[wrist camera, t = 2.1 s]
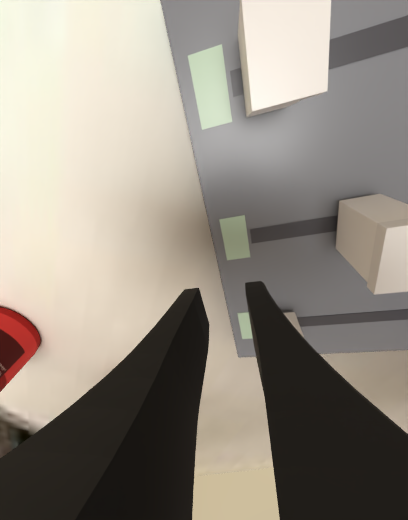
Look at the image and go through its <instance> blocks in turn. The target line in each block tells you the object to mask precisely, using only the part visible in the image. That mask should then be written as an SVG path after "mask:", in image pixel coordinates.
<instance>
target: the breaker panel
mask: <svg viewBox="0 0 408 520" xmlns="http://www.w3.org/2000/svg"><path fill="white" fill-rule="evenodd" d="M160 1H161V5H162V10H163V15H164V19H165V24H166V28H167V33H168V37H169V42H170V47H171V51H172V56H173V60H174V65H175V70H176V74H177V79H178V83H179V88H180V92H181V97H182V102H183V106H184V111H185V115H186V120H187V125H188V129H189V134H190V138H191V143H192V147H193V152H194V157H195V161H196V166H197V170H198V175H199V179H200V184H201V189H202V193H203V198H204V202H205V207H206V212H207V216H208V221H209V225H210V230H211V234H212V239H213V244H214V248H215V253H216V257H217V262H218V267H219V271H220V276H221V280H222V285H223V289H224V294H225V299H226V303H227V308H228V312H229V317H230V322H231V326H232V331H233V335H234V340H235V344H236V349H237V354H238V357H256V353H255V348H254V343H253V337H252V331H251V324H250V318H249V312H248V306H247V299H246V292H245V283H247V282H256V281H262V282H263V283H264V284H265V286H266V288H267V290H268V292H269V293H270V295H271V297H272V298H273V300H274V301H275V302H276V304H277V305H278V307H279V308H280V309H281V311H282V312H283V313H287V312H295V314H296V317H297V320H298V322H299V325H300V328H301V331H302V333H303V336H304V339H305V340H306V341H307V342H308V343H309V344H310V345H311V346H312V347H313V348H314V349H315V351H316V352H317V353H318V354H329V353H351V352H374V351H397V350H408V292H397V293H386V294H375V295H374V294H373V293H372V292H371V291H370V290H369V288H368V287H367V281H366V280H365V279H364V278H363V277H362V276H361V275H360V274H359V273H358V272H357V271H356V270H355V269H354V268H353V266H352V265H351V264H350V263H349V262H348V261H347V260H346V259H345V258H344V257H343V256H342V255H341V254H340V253H339V251H338V250H337V249H336V236H337V223H338V211H339V201H341V200H346V199H352V198H358V197H364V196H369V195H375V194H382V195H385V196H388V197H390V198H393V199H395V200H398V201H401V202H403V203H406V204H408V0H331V17H330V41H329V65H328V89H327V92H325V93H322V94H320V95H317V96H313V97H309V98H306V99H302V100H300V101H298V102H296V103H295V104H293V105H291V106H288V107H285V108H281V109H277V110H273V111H270V112H266V113H262V114H258V115H255V116H251V117H247V118H246V108H245V99H244V89H243V80H242V70H241V61H240V52H239V42H238V24H239V8H240V0H160Z"/></svg>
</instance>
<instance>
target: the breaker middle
mask: <svg viewBox="0 0 408 520" xmlns="http://www.w3.org/2000/svg"><path fill="white" fill-rule="evenodd" d="M336 249H337V250H338V251H339V253H340V254H341V255H342V256H343V257H344V258H345V259H346V260H347V261H348V262H349V263H350V264H351V265H352V266H353V268H354V269H355V270H356V271H357V272H358V273H359V274H360V275H361V276H362V277H363V278H364V279H365V280H366V281H367V287H368V288H369V290H370V291H371V292H372V293H373V294H374V295H375V294H386V293H397V292H408V204H406V203H403V202H401V201H398V200H395V199H393V198H390V197H388V196H385V195H382V194H375V195H369V196H364V197H358V198H352V199H346V200H341V201H339V211H338V223H337V236H336Z"/></svg>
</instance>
